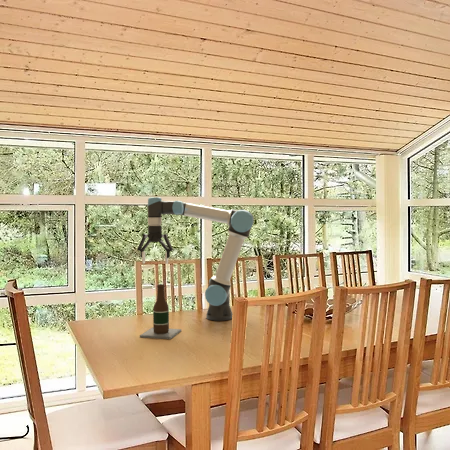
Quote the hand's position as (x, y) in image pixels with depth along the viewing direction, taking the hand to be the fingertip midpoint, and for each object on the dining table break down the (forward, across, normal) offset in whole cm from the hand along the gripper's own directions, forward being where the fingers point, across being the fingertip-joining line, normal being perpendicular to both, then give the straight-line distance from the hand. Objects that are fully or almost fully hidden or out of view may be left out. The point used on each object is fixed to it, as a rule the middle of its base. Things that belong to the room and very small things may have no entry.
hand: (155, 263), depth 264 cm
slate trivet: (+33, -12, +23) cm, 42 cm away
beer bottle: (+32, -12, +23) cm, 41 cm away
